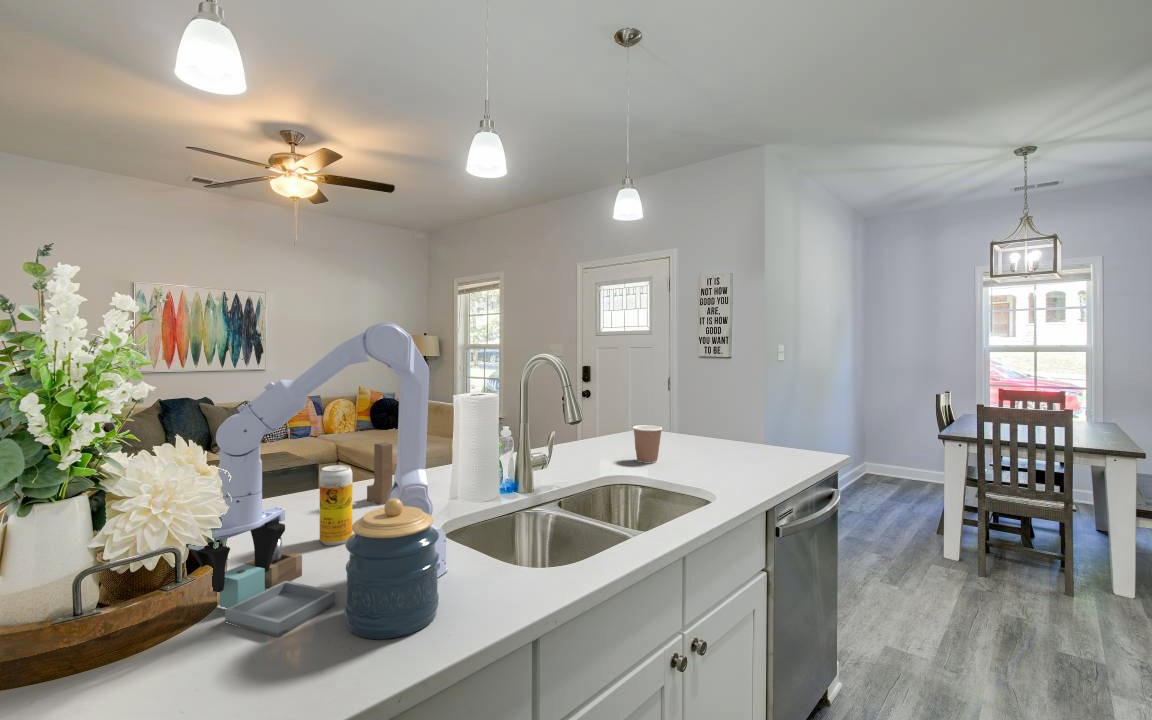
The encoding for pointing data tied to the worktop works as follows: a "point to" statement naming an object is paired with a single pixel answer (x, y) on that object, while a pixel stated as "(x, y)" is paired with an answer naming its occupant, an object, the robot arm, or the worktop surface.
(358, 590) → the canister
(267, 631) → the tray
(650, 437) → the coffee cup
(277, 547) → the cylinder
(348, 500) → the beer can
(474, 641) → the worktop surface
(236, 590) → the teal block
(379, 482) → the wooden block
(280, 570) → the brown wooden square frame
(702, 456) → the worktop surface
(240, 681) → the worktop surface
